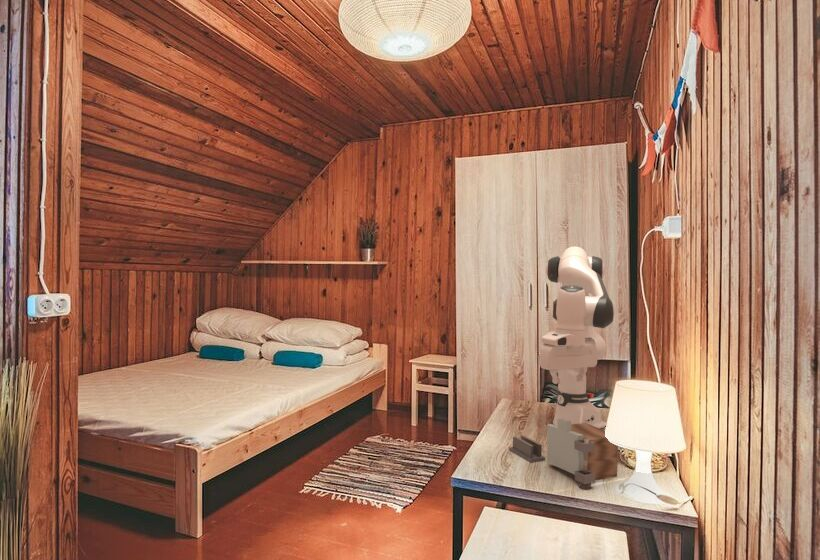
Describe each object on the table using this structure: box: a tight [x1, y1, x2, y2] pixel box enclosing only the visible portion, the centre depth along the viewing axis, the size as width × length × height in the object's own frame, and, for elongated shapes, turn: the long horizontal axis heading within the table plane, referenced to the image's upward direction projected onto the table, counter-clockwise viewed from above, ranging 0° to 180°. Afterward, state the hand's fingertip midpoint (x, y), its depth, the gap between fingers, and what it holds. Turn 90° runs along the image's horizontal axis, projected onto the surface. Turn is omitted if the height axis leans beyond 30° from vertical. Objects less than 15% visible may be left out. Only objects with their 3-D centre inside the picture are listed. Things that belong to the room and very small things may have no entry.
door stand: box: [508, 434, 546, 464], centre depth 167 cm, size 6×12×6 cm, turn 24°
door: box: [546, 418, 596, 484], centre depth 151 cm, size 4×18×16 cm, turn 24°
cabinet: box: [571, 423, 619, 490], centre depth 153 cm, size 16×17×15 cm
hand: (568, 382), depth 152 cm, fingers open, 8 cm apart
